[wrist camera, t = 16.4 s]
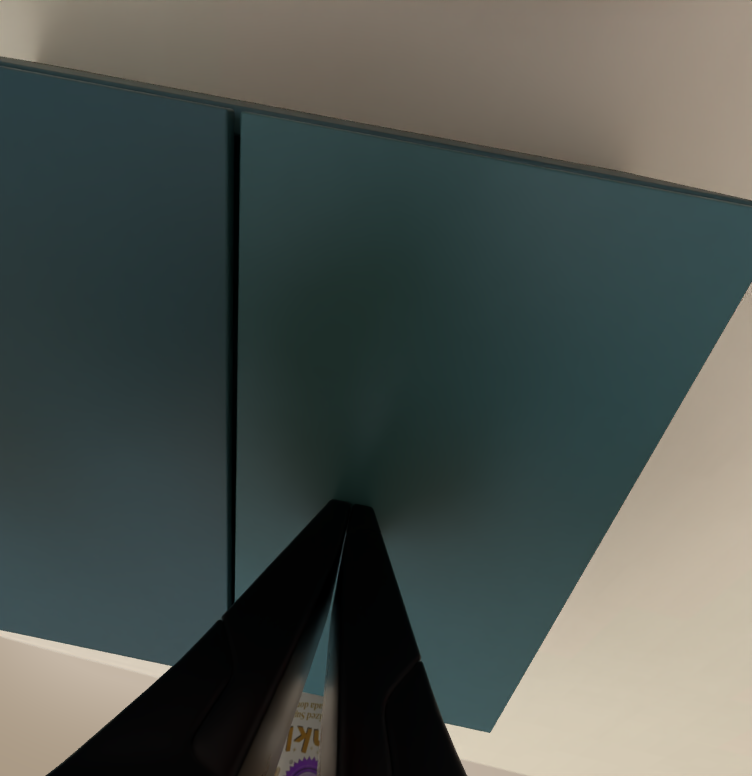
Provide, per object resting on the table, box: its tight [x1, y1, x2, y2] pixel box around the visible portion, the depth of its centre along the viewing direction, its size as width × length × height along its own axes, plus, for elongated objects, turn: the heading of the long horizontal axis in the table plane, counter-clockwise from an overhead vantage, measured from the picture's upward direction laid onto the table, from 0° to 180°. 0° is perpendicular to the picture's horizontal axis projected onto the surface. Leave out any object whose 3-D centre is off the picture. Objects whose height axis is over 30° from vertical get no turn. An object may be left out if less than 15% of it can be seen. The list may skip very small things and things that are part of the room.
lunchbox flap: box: [235, 112, 752, 733], centre depth 10 cm, size 7×14×1 cm, turn 170°
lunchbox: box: [0, 56, 752, 666], centre depth 12 cm, size 15×14×6 cm
